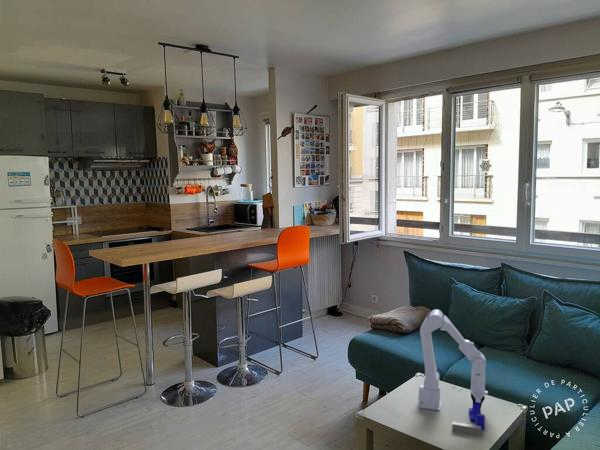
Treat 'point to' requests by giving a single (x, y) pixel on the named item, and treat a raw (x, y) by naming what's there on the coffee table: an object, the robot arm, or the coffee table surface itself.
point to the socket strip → (466, 428)
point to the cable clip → (477, 415)
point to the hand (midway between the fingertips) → (477, 410)
